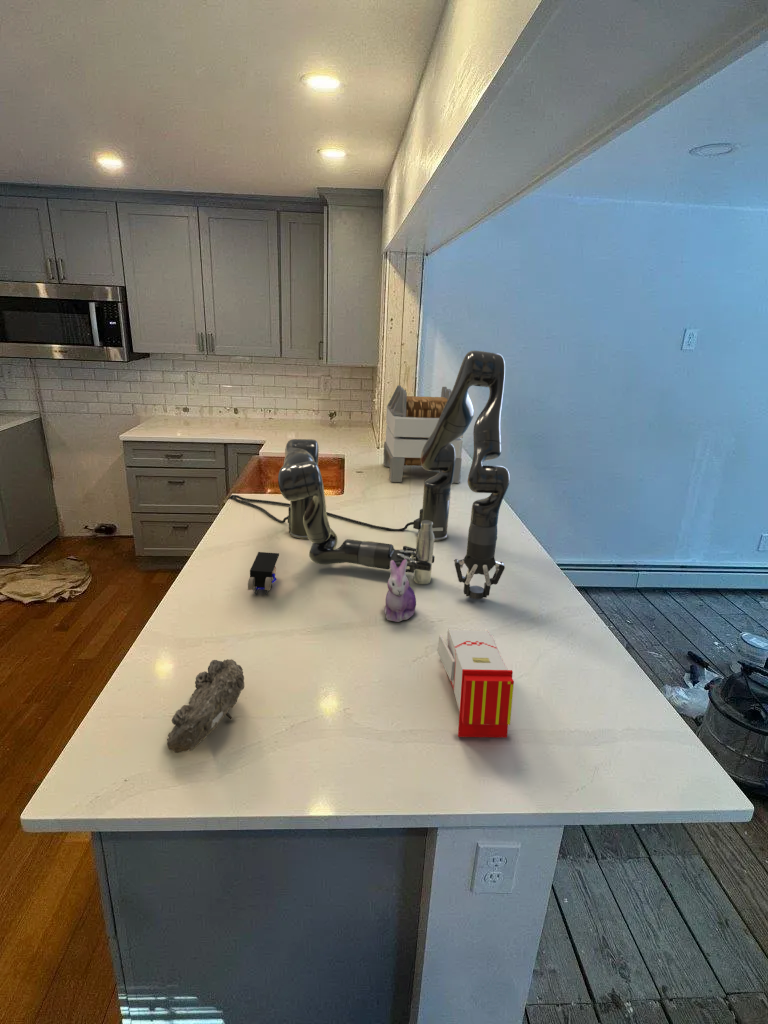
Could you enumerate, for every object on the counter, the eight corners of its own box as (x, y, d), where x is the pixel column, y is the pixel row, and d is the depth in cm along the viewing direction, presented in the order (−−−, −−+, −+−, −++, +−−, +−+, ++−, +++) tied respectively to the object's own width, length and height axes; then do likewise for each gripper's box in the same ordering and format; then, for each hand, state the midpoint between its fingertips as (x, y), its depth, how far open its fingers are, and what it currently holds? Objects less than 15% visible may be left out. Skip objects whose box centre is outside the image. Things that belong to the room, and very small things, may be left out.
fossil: (192, 660, 117) (244, 628, 112) (224, 691, 120) (276, 661, 115) (142, 746, 98) (202, 712, 93) (182, 779, 101) (242, 748, 96)
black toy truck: (272, 602, 153) (280, 572, 166) (271, 579, 149) (279, 550, 163) (247, 602, 152) (257, 572, 166) (245, 578, 149) (256, 549, 162)
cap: (487, 596, 157) (488, 589, 156) (477, 600, 154) (478, 594, 153) (474, 590, 160) (475, 584, 159) (464, 594, 157) (465, 588, 156)
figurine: (392, 627, 141) (395, 572, 136) (374, 608, 149) (376, 556, 144) (425, 619, 145) (429, 566, 140) (405, 601, 154) (408, 550, 149)
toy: (488, 613, 130) (523, 677, 101) (484, 667, 133) (517, 744, 104) (435, 612, 130) (455, 676, 101) (432, 666, 133) (451, 743, 103)
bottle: (413, 583, 164) (418, 524, 158) (413, 576, 169) (418, 518, 162) (430, 585, 164) (435, 525, 158) (430, 577, 168) (435, 519, 162)
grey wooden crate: (382, 463, 289) (386, 382, 275) (445, 464, 293) (451, 384, 279) (390, 482, 257) (394, 392, 243) (460, 483, 261) (468, 394, 247)
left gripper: (369, 552, 160) (429, 561, 156) (382, 534, 173) (437, 542, 169) (368, 576, 162) (427, 585, 158) (381, 557, 175) (435, 565, 171)
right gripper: (507, 534, 154) (500, 591, 160) (454, 531, 155) (449, 587, 160) (511, 545, 147) (503, 604, 153) (456, 542, 148) (450, 600, 153)
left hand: (432, 563), depth 164 cm, fingers closed on bottle, 5 cm apart
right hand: (475, 595), depth 157 cm, fingers closed on cap, 4 cm apart
